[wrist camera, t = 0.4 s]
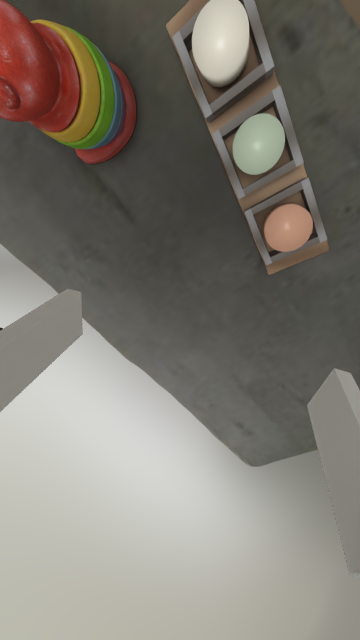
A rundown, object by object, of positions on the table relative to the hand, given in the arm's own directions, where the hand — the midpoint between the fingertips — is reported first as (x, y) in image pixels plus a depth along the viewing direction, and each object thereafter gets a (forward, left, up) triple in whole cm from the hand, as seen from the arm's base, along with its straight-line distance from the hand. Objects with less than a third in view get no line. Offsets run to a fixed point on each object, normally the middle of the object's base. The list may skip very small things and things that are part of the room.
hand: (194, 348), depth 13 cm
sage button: (-8, +7, -24) cm, 26 cm away
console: (-8, +7, -27) cm, 29 cm away
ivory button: (-17, +7, -24) cm, 30 cm away
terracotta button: (+1, +7, -24) cm, 25 cm away
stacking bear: (-22, -8, -27) cm, 36 cm away
